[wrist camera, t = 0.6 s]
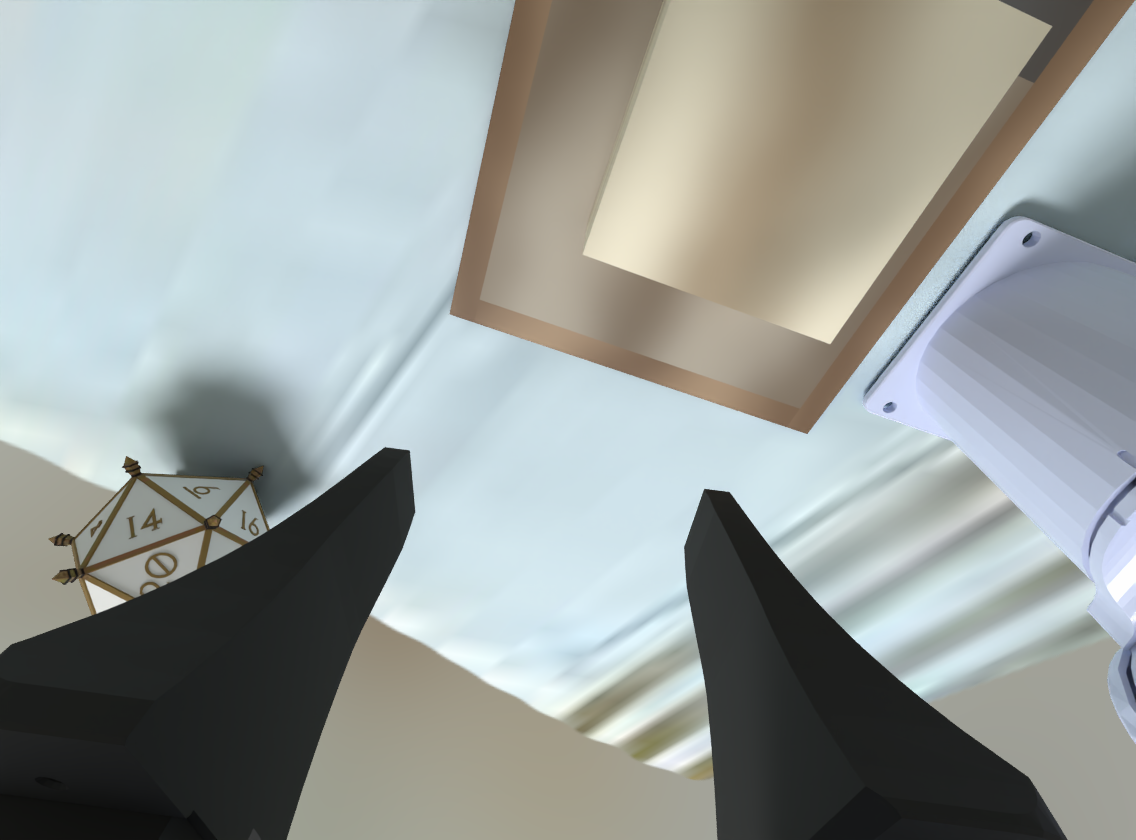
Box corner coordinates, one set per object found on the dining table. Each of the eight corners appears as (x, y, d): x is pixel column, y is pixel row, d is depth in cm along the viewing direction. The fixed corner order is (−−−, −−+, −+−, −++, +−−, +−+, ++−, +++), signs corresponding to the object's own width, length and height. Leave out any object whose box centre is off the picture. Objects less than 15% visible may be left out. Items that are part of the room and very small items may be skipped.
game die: (245, 428, 28) (29, 415, 19) (361, 502, 27) (192, 531, 17) (175, 563, 29) (-77, 622, 19) (286, 645, 27) (76, 755, 17)
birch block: (946, 42, 14) (1052, 26, 11) (789, 299, 18) (830, 344, 15) (689, -77, 13) (717, -135, 10) (587, 224, 17) (582, 254, 14)
